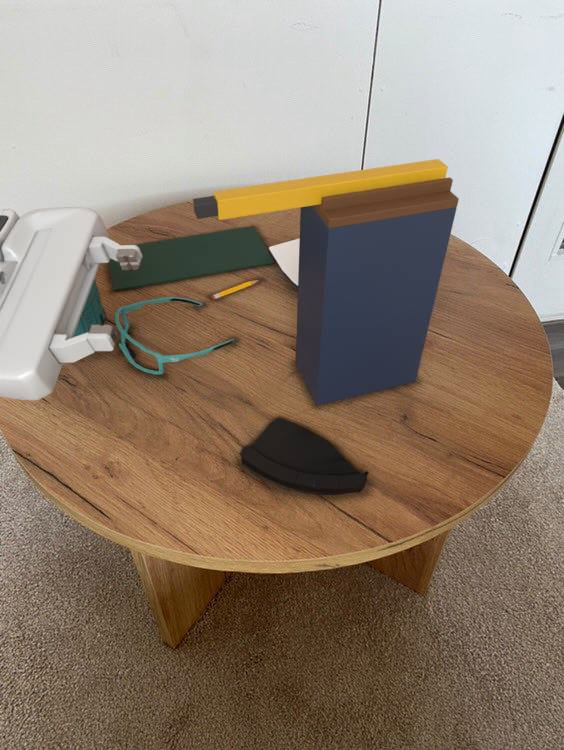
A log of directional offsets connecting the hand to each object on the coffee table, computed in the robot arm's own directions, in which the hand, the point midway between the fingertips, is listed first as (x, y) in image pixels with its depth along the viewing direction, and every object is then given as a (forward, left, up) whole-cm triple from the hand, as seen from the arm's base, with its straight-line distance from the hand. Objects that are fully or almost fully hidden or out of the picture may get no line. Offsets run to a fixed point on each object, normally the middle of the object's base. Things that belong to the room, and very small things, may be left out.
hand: (127, 295), depth 51 cm
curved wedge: (+15, -3, -23) cm, 28 cm away
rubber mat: (+4, +42, -23) cm, 48 cm away
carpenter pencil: (+20, +10, +3) cm, 23 cm away
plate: (+29, +34, -23) cm, 50 cm away
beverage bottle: (-10, +22, -23) cm, 33 cm away
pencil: (+11, +32, -24) cm, 41 cm away
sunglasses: (+1, +21, -23) cm, 31 cm away
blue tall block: (+25, +11, -23) cm, 36 cm away
